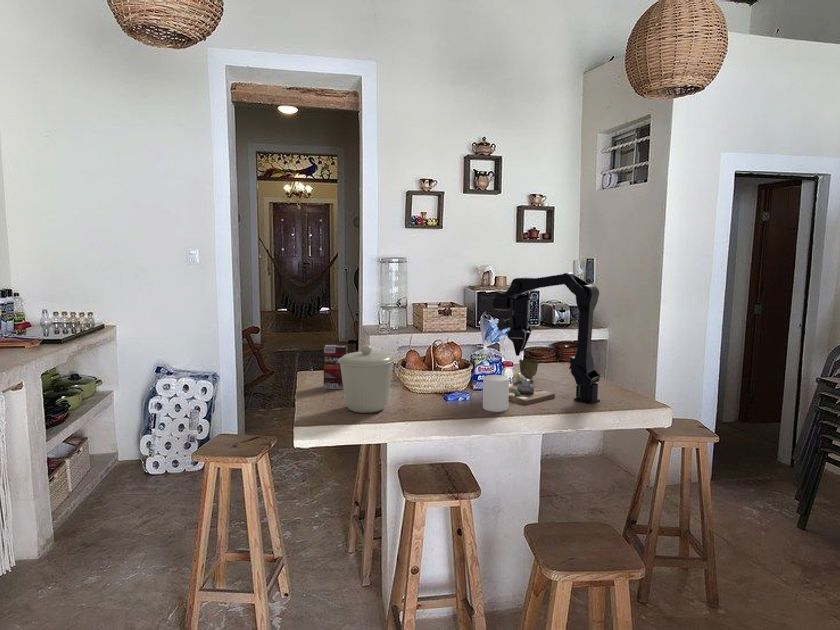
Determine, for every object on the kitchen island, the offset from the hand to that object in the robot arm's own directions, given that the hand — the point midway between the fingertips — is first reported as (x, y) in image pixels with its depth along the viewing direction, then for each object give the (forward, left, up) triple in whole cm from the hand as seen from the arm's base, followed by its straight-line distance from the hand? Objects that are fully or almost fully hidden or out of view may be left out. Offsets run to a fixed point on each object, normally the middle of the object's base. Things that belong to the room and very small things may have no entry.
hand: (519, 353), depth 205 cm
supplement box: (+41, +55, -13) cm, 70 cm away
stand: (-9, +7, -13) cm, 18 cm away
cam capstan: (-7, +6, -11) cm, 15 cm away
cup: (+6, -12, -13) cm, 19 cm away
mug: (-12, +25, -13) cm, 30 cm away
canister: (+11, +60, -13) cm, 62 cm away
